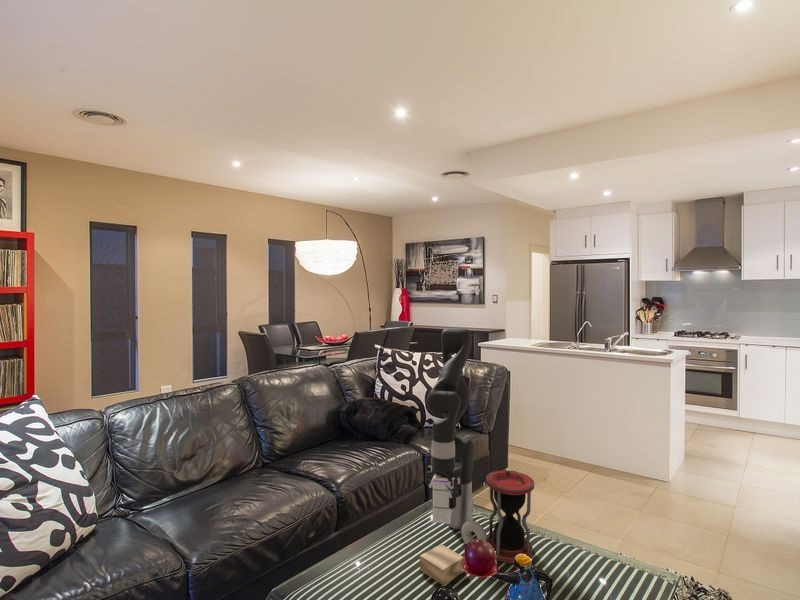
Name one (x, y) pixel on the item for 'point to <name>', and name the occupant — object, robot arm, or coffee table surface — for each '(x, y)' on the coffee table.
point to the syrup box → (441, 500)
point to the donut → (475, 528)
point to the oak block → (441, 564)
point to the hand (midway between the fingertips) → (442, 503)
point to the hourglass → (509, 514)
